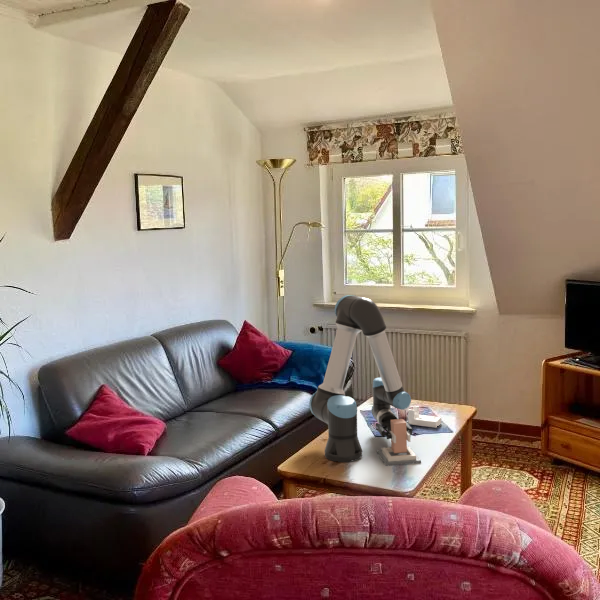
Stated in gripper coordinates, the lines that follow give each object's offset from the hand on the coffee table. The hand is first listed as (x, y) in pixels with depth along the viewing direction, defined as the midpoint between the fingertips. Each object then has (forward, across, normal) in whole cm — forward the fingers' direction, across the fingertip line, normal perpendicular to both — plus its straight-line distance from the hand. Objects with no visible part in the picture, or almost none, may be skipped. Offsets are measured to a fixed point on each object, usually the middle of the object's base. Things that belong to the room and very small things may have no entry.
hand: (402, 439), depth 258 cm
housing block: (-5, 0, -6) cm, 8 cm away
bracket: (-42, -22, -10) cm, 48 cm away
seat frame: (-5, 0, -10) cm, 11 cm away
